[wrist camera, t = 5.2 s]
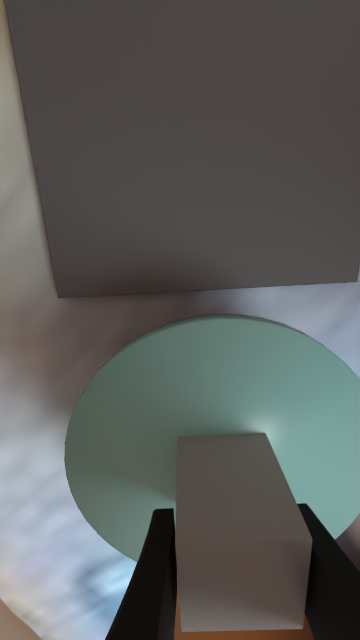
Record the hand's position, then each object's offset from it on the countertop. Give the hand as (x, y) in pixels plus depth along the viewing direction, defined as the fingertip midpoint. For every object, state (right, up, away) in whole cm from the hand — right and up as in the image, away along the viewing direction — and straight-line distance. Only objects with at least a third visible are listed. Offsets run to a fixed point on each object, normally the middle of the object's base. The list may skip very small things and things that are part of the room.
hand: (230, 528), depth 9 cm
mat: (-1, +16, +4) cm, 17 cm away
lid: (0, +1, +3) cm, 3 cm away
